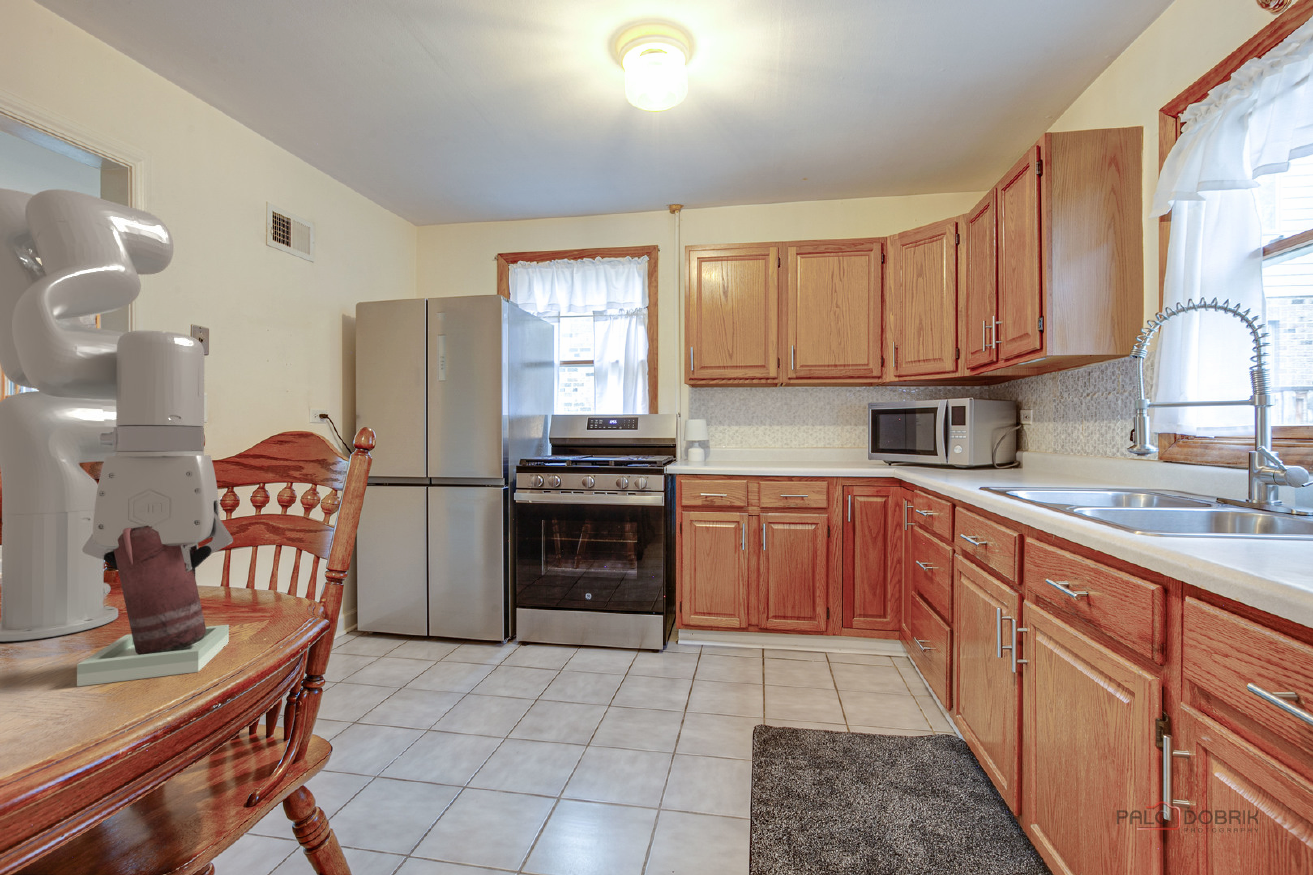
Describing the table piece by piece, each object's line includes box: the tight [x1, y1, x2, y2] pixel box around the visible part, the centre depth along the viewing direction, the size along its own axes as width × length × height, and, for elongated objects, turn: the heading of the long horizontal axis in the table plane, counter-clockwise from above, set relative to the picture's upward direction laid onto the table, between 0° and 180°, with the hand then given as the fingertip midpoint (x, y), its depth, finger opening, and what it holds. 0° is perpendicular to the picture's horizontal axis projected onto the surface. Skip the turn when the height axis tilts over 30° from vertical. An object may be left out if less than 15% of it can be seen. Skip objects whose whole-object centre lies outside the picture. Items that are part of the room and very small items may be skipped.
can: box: [113, 525, 207, 655], centre depth 64 cm, size 6×6×14 cm
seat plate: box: [76, 624, 230, 687], centre depth 65 cm, size 10×10×2 cm
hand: (160, 606), depth 65 cm, fingers open, 3 cm apart
